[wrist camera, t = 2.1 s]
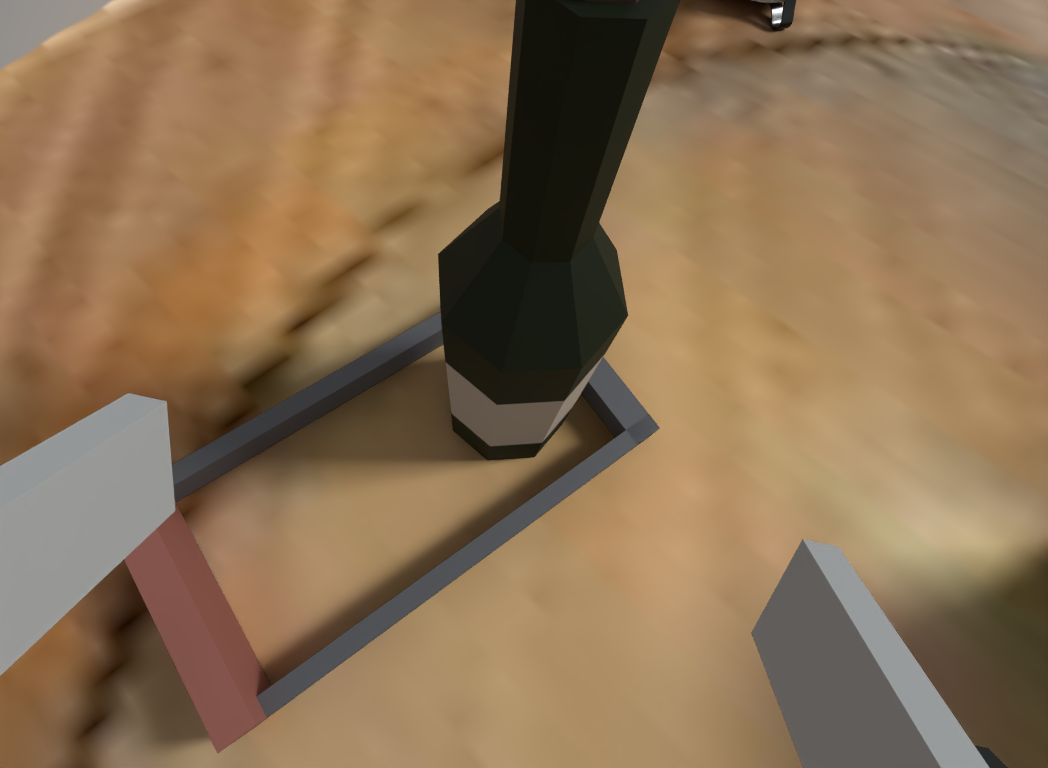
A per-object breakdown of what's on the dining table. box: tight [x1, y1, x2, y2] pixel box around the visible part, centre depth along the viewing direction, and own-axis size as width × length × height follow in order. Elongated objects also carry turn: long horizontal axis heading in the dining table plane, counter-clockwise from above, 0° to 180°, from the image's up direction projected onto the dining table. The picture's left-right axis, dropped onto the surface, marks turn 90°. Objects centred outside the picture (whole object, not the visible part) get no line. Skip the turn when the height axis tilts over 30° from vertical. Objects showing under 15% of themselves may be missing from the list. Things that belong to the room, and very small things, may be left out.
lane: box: [124, 312, 659, 753], centre depth 34 cm, size 30×15×4 cm, turn 126°
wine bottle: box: [438, 0, 680, 460], centre depth 24 cm, size 8×8×30 cm
